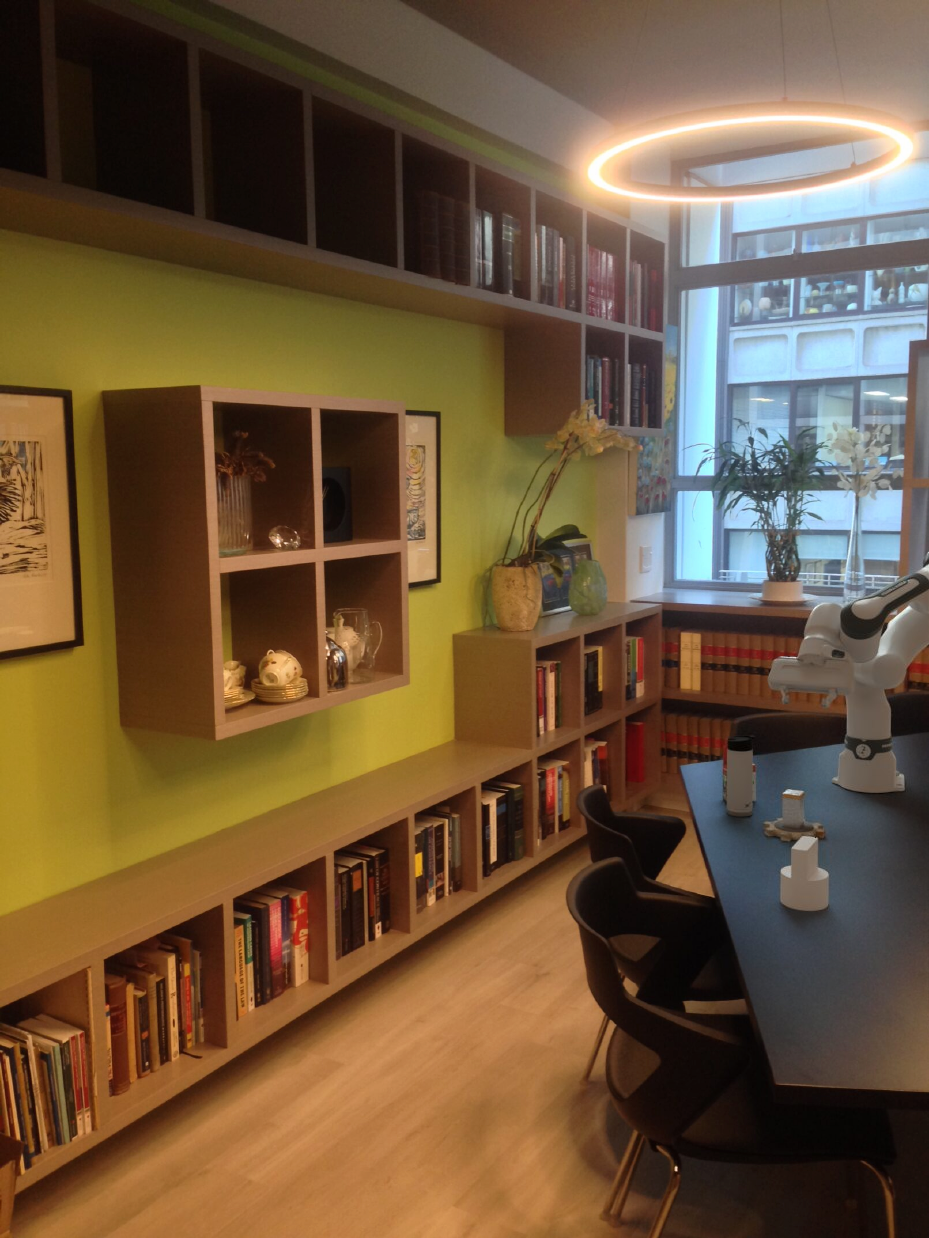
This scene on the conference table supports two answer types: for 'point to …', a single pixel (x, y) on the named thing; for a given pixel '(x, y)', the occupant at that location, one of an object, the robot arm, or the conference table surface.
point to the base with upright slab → (804, 878)
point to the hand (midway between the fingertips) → (804, 704)
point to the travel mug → (740, 775)
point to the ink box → (726, 776)
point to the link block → (793, 809)
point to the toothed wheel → (793, 830)
